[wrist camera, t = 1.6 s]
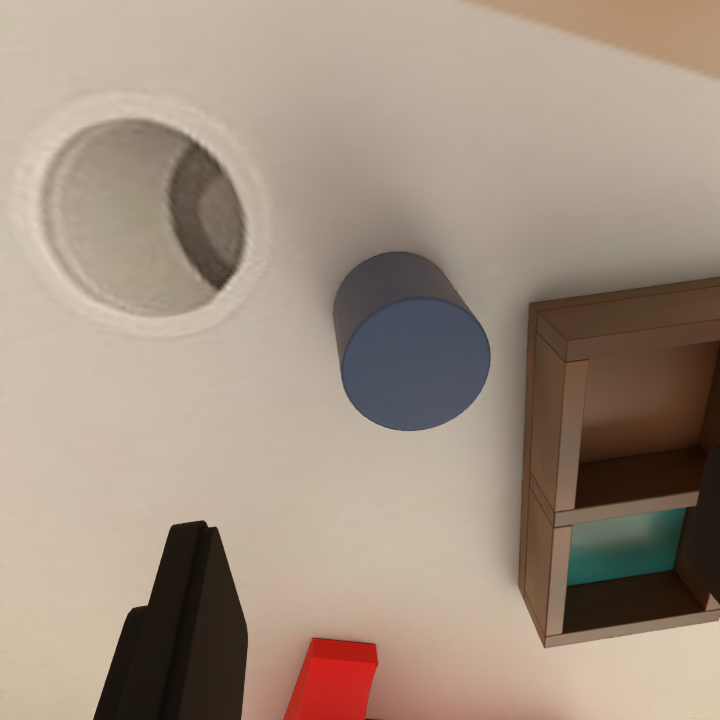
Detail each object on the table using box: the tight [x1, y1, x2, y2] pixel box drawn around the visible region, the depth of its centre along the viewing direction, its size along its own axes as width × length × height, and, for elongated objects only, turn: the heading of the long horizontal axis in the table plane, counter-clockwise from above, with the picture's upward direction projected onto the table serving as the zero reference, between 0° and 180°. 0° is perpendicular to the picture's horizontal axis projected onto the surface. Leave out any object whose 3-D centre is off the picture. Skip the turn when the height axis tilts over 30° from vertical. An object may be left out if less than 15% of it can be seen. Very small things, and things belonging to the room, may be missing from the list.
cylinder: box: [333, 252, 491, 431], centre depth 18 cm, size 4×4×4 cm
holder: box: [519, 277, 720, 648], centre depth 22 cm, size 15×8×3 cm, turn 6°
